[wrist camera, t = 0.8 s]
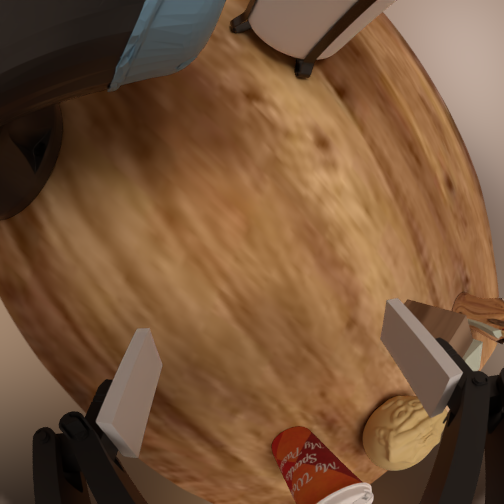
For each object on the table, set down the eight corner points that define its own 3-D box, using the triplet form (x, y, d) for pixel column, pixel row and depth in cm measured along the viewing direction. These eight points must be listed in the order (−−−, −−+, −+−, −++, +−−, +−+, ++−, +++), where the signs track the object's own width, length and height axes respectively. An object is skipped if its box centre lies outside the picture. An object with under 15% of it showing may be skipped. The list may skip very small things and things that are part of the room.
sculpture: (412, 372, 35) (463, 399, 25) (406, 425, 36) (447, 453, 26) (351, 407, 32) (401, 449, 22) (352, 458, 34) (390, 497, 23)
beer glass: (469, 283, 38) (539, 295, 24) (469, 318, 39) (534, 335, 24) (449, 299, 36) (526, 317, 22) (449, 336, 37) (519, 360, 23)
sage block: (426, 344, 36) (465, 359, 28) (445, 329, 37) (482, 341, 29) (426, 369, 36) (462, 386, 28) (444, 354, 37) (479, 368, 30)
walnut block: (385, 327, 33) (443, 351, 23) (407, 299, 33) (466, 315, 24) (398, 349, 34) (451, 373, 24) (419, 322, 34) (473, 340, 25)
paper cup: (296, 410, 30) (359, 484, 16) (328, 433, 32) (387, 495, 18) (249, 449, 29) (291, 532, 15) (286, 468, 30) (331, 537, 17)
